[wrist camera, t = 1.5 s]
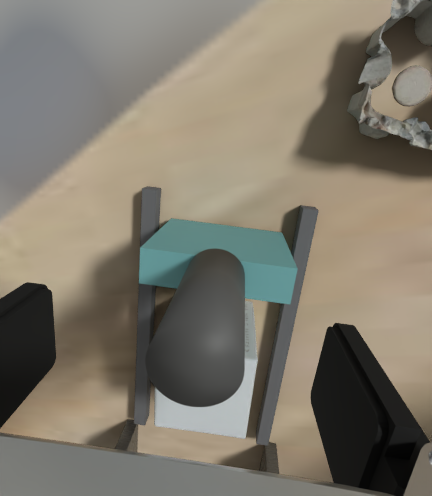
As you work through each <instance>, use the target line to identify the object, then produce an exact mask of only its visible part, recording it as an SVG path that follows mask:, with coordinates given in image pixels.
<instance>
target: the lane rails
mask: <svg viewBox="0 0 432 496" xmlns="http://www.w3.org/2000/svg"><path fill="white" fill-rule="evenodd" d="M160 197H161V188H156V187H148V186H147V187H145V188H142V208H141V237H140V247H141V246H142V245H143V244H145V243H146V242H147V241H148V240H149V239H150V238H151V237H152V236H153V235H154V234H155V233H156V232H157V231H158V230H159V216H160ZM317 215H318V209H316V208H315V207H310V206H302V205H300V210H299V215H298V220H297V225H296V230H295V235H294V241H293V246H292V251H291V255H292V257H293V259H294V261H295V264H296V266H297V268H298V269H297V274H296V279H295V284H294V289H293V294H292V299H291V303H290V304H283V303H281V307H280V312H279V317H278V322H277V327H276V333H275V338H274V343H273V348H272V353H271V358H270V363H269V368H268V373H267V379H266V384H265V389H264V394H263V399H262V404H261V409H260V414H259V419H258V425H257V430H256V444H261V445H267V446H268V443H269V438H270V433H271V429H272V424H273V419H274V415H275V410H276V406H277V401H278V396H279V392H280V387H281V382H282V378H283V373H284V368H285V364H286V359H287V354H288V350H289V345H290V340H291V336H292V331H293V327H294V322H295V317H296V313H297V308H298V303H299V299H300V294H301V289H302V285H303V280H304V275H305V271H306V266H307V261H308V257H309V252H310V248H311V243H312V238H313V234H314V229H315V224H316V220H317ZM139 267H140V266H139ZM155 292H156V286H155V285H148V284H140V283H139V295H138V325H137V354H136V383H135V412H134V424H139V425H145V424H146V421H147V419H148V416H149V405H150V386H151V380H150V378H149V376H148V373H147V370H146V363H145V359H146V353H147V349H148V347H149V345H150V343H151V341H152V339H153V329H154V310H155Z"/></svg>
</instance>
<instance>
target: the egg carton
mask: <svg viewBox="0 0 432 496" xmlns="http://www.w3.org/2000/svg"><path fill="white" fill-rule="evenodd" d="M404 16H410V17H413V18H415V19H416V20H415V26H414V29H415V34H416V37H417V38H418V40H419V41H420V42H422V43H423V44H425V45H430V46H432V0H393V3H392V6H391V18H390V19H388V20H387V21H386V22H385V24H384V25H382V26H381V27H379V29H378V30H376V31H375V32H374V33H373V34H372V37H371V39H370V42H369V45H368V47H367V49H366V53H367V54H369V55H370V56H372V57H371V58H368V60H367V62H366V64H365V67H364V69H363V72H362V74H361V77H360V79H359V82H358V84H361V83H364V84H365V87H364V89H363V90H362V91H360V92H359V93H356V94H354V95H353V96H352V98H351V100H350V103H349V106H348V109H347V111H348V112H349V113H350V114H352V115H353V116H354V117H355V118H356V119H357V121H358V124H359V132H360V133H361V134H363V135H365V136H370V137H373V138H375V139H379V138H380V137H385V136H387V135H389V133H391V134H394V135H399V136H401V137H403V138H405V139H408V140H410V142H409V143H410V146H415V147H419V148H426V149H430V150H432V130H430V128H429V126H428V124H427V123H426V122H419V121H418V118H411V119H407V120H405V121H403V122H401V121H399V120H397V119H394V118H391V117H388V116H385V115H382V114H380V113H379V112H377V111H375V110H374V109H373V108H372V107H371V94H372V91H371V89H374V88H375V87H377V86H379V85H380V84H382V83H383V82H384V81H385V79H386V78H387V76H388V75H389V74H390V71H391V68H392V57H391V52H390V51H389V49H388V47H387V46H385V45H384V42H383V41H382V39H381V35H382V33H383V32H385V31H387V30H388V29H390V28H391V27H392V26H393V25H394V24H395V23H396V22H398V21H399V20H400V19H401V18H403V17H404ZM431 88H432V76H431V74H430V72H429V71H428V70H426V69H425V68H423V67H422V66H420V65H415V66H411V67H408V68H407V69H405V70H403V71H402V72H401V73H400V74H399V75H398V76H397V77H396V79H395V82H394V85H393V93H394V98H395V99H396V100H397V102H398V103H400V104H401V105H403V106H414V105H417V104H419V103H420V102H422V101H424V99H425V98H426V97H427V96H428V95H429V93H430V91H431Z"/></svg>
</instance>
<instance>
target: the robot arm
mask: <svg viewBox="0 0 432 496" xmlns="http://www.w3.org/2000/svg"><path fill="white" fill-rule="evenodd" d="M55 359H56V348H55V332H54V316H53V301H52V292H51V290H49V289H48V288H47V286H46V285H44V284H36V283H28V282H27V283H25V284H23V285H21V286H20V287H18V288H17V289H15V290H14V291H12V292H10V293H9V294H7V295H6V296H4V297H3V298H1V299H0V428H1V427H2V426H3V424H4V423H5V422H6V421H7V420H8V419H9V417H10V416H11V415H12V414H13V413H14V412H15V410H16V409H17V408H18V407H19V406H20V404H21V403H22V402H23V401H24V400H25V399H26V397H27V396H28V395H29V394H30V393H31V392H32V390H33V389H34V388H35V387H36V386H37V384H38V383H39V382H40V381H41V380H42V379H43V377H44V376H45V375H46V374H47V373H48V372H49V370H50V369H51V368H52V367H53V365H54V363H55ZM311 404H312V408H313V411H314V415H315V418H316V422H317V425H318V429H319V432H320V436H321V439H322V443H323V446H324V450H325V454H326V457H327V461H328V464H329V468H330V471H331V475H332V478H333V482H334V483H331V482H325V481H318V480H312V479H306V478H300V477H294V476H289V475H282V474H276V473H269V472H263V471H256V470H250V469H243V468H237V467H230V466H224V465H218V464H211V463H205V462H198V461H192V460H185V459H178V458H172V457H165V456H158V455H152V454H145V453H138V452H131V451H125V450H118V449H111V448H104V447H97V446H91V445H84V444H77V443H70V442H63V441H56V440H49V439H42V438H35V437H28V436H21V435H14V434H7V433H0V496H432V442H431V443H430V441H429V440H428V438H427V437H426V435H425V434H424V432H423V431H422V429H421V427H420V426H419V424H418V423H417V421H416V420H415V418H414V417H413V415H412V413H411V412H410V410H409V409H408V407H407V406H406V404H405V403H404V401H403V400H402V398H401V397H400V395H399V393H398V392H397V390H396V389H395V387H394V386H393V384H392V383H391V381H390V380H389V378H388V377H387V375H386V373H385V372H384V370H383V369H382V367H381V366H380V364H379V363H378V361H377V360H376V358H375V357H374V355H373V353H372V352H371V350H370V349H369V347H368V346H367V344H366V343H365V341H364V340H363V338H362V337H361V335H360V334H359V332H358V330H357V329H356V327H355V326H354V325H347V324H340V323H335V324H334V325H333V327H328V329H327V331H326V335H325V339H324V343H323V347H322V351H321V355H320V359H319V363H318V367H317V371H316V375H315V379H314V382H313V386H312V390H311Z"/></svg>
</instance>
